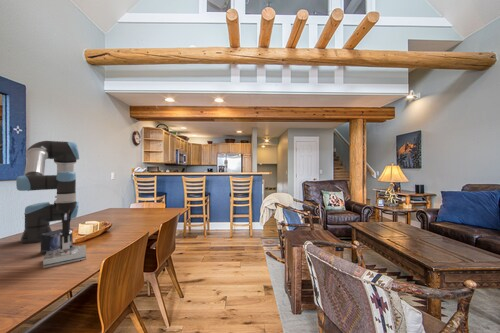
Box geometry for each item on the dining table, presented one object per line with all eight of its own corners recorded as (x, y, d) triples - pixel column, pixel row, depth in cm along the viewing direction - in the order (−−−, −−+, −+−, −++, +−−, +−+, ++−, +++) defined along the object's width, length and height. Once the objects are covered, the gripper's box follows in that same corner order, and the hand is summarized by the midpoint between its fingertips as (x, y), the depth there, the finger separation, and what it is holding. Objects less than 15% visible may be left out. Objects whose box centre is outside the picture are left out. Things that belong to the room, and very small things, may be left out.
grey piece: (46, 259, 111) (46, 249, 111) (85, 251, 121) (85, 242, 121) (43, 268, 101) (43, 257, 101) (86, 259, 111) (86, 249, 111)
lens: (60, 247, 112) (60, 229, 111) (73, 244, 115) (73, 227, 115) (59, 250, 107) (59, 232, 107) (72, 247, 110) (72, 230, 110)
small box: (49, 254, 117) (49, 235, 117) (39, 253, 119) (39, 234, 119) (69, 247, 128) (69, 229, 128) (60, 246, 129) (60, 228, 129)
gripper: (58, 200, 116) (58, 243, 116) (54, 205, 101) (54, 254, 101) (76, 198, 120) (76, 240, 120) (75, 203, 106) (75, 250, 106)
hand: (66, 247), depth 111 cm, fingers closed on lens, 5 cm apart
